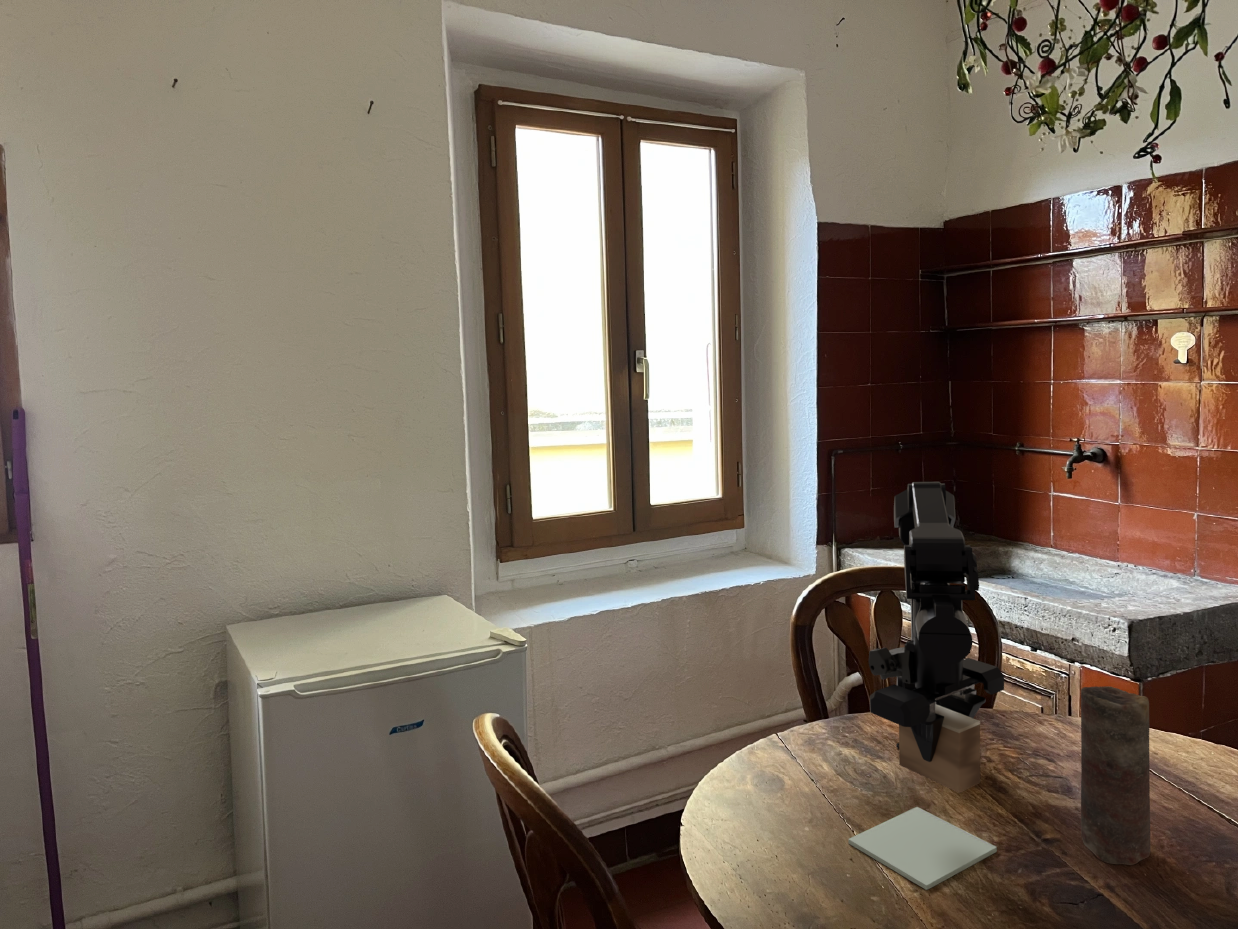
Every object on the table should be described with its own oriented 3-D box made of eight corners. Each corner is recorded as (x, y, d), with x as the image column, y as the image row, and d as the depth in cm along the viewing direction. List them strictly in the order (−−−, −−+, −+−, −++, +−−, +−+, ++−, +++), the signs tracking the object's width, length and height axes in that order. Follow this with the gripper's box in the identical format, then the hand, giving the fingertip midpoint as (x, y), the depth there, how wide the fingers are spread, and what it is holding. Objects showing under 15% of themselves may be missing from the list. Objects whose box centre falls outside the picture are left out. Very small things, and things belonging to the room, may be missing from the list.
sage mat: (916, 811, 116) (916, 806, 116) (996, 851, 106) (996, 847, 106) (848, 843, 109) (848, 839, 109) (926, 890, 99) (926, 885, 99)
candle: (1067, 835, 109) (1068, 683, 106) (1123, 830, 109) (1125, 678, 106) (1104, 870, 101) (1107, 707, 99) (1164, 865, 101) (1168, 702, 99)
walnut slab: (920, 756, 113) (919, 698, 112) (980, 783, 106) (980, 721, 105) (899, 765, 111) (898, 706, 110) (959, 793, 104) (959, 730, 103)
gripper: (933, 606, 118) (934, 715, 120) (835, 636, 108) (838, 753, 110) (1007, 626, 108) (1006, 743, 110) (906, 660, 99) (908, 788, 101)
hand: (938, 755), depth 108 cm, fingers closed on walnut slab, 4 cm apart
